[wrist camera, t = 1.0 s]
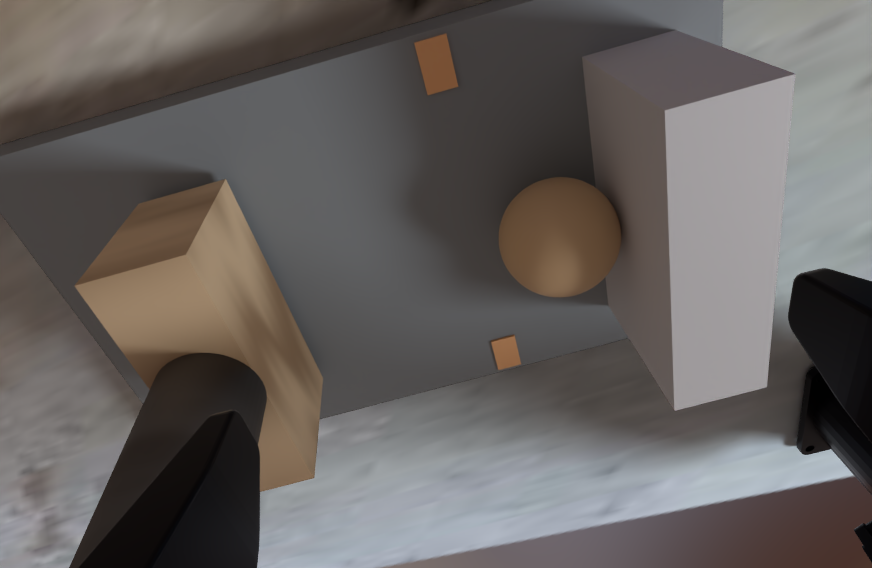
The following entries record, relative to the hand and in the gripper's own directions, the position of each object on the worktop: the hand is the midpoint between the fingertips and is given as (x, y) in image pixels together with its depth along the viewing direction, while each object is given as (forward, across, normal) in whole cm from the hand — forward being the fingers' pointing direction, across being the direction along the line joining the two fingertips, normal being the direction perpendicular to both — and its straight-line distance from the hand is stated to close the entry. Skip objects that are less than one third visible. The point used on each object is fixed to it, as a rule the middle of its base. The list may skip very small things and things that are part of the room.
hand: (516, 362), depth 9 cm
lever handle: (+11, +8, +4) cm, 15 cm away
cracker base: (+14, +2, +4) cm, 14 cm away
